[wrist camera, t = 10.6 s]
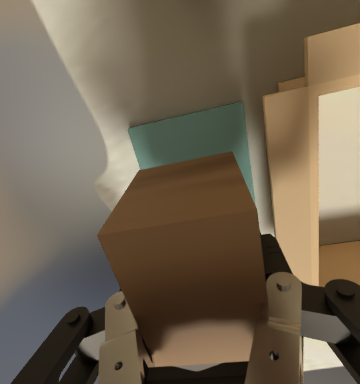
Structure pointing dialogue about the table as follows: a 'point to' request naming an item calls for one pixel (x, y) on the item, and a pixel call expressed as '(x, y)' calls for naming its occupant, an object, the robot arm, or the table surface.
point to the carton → (309, 157)
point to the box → (190, 260)
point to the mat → (195, 139)
